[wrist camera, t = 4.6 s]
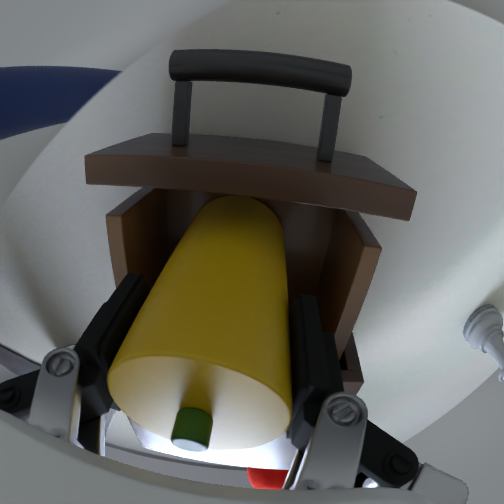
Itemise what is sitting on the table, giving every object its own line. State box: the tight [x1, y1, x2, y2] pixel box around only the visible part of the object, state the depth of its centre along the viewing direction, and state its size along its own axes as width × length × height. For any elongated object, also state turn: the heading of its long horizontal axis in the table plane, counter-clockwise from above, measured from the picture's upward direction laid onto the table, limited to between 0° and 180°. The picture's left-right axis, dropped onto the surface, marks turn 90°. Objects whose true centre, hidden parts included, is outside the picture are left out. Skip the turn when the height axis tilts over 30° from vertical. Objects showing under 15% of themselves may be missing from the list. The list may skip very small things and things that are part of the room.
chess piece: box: [463, 305, 504, 382], centre depth 17 cm, size 4×4×10 cm
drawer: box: [85, 49, 417, 360], centre depth 14 cm, size 17×12×7 cm
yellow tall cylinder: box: [107, 195, 293, 452], centre depth 11 cm, size 5×5×12 cm
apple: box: [247, 467, 289, 490], centre depth 31 cm, size 8×8×7 cm
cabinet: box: [127, 332, 364, 470], centre depth 20 cm, size 14×14×9 cm
